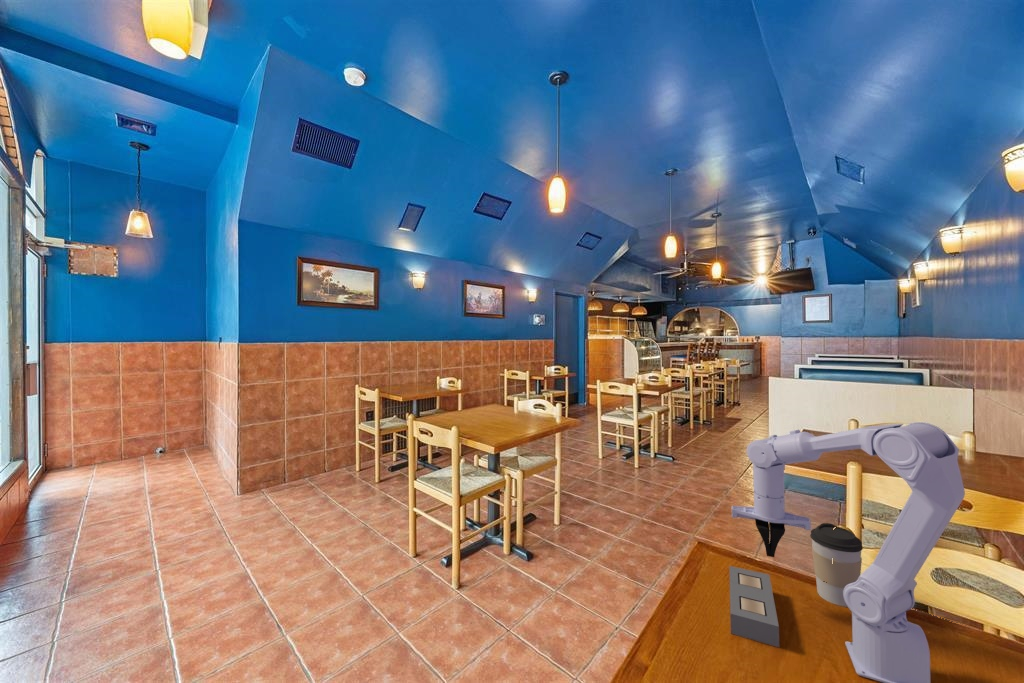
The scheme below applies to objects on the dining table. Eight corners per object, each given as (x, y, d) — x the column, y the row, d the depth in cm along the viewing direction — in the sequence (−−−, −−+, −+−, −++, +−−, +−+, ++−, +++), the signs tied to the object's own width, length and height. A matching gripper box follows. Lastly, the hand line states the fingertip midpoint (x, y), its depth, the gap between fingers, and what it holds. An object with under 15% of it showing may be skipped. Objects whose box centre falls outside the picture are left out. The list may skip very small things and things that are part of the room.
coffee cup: (874, 612, 82) (873, 542, 82) (825, 608, 84) (824, 538, 84) (847, 586, 91) (845, 521, 91) (803, 582, 93) (801, 519, 93)
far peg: (760, 594, 89) (759, 578, 89) (761, 605, 85) (761, 588, 85) (739, 589, 91) (739, 574, 91) (740, 599, 87) (740, 583, 87)
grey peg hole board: (769, 591, 90) (769, 574, 90) (779, 647, 74) (778, 626, 74) (729, 582, 94) (729, 565, 94) (730, 633, 78) (730, 613, 78)
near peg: (763, 620, 81) (763, 602, 81) (765, 633, 77) (765, 615, 77) (741, 614, 83) (740, 597, 83) (742, 626, 79) (741, 609, 79)
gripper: (806, 492, 87) (807, 553, 87) (730, 482, 94) (732, 538, 94) (812, 504, 81) (813, 570, 81) (731, 493, 87) (732, 553, 88)
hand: (770, 554), depth 87 cm, fingers closed
